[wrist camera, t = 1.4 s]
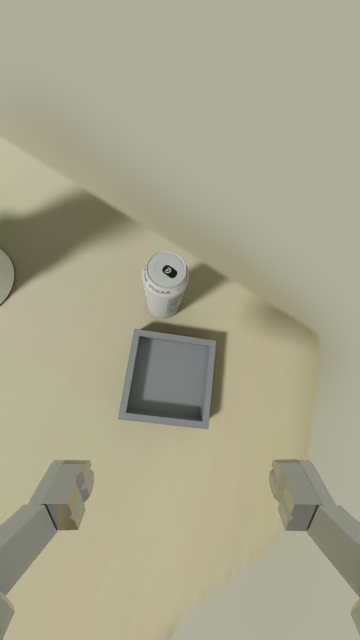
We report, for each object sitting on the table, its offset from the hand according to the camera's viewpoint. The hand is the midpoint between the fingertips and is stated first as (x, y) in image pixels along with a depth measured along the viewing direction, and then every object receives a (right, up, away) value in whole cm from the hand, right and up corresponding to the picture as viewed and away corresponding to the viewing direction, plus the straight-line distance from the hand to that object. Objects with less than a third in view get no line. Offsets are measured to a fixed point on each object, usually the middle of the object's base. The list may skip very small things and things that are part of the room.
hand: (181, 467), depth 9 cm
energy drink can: (-3, +10, +30) cm, 32 cm away
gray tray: (-2, -3, +27) cm, 28 cm away
